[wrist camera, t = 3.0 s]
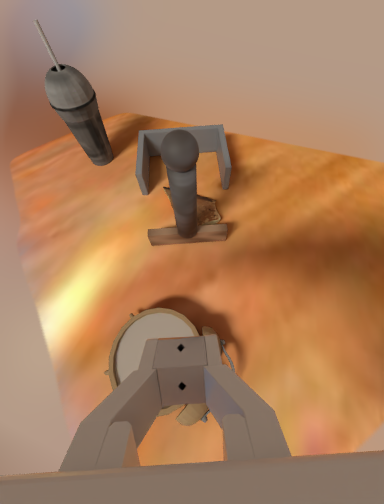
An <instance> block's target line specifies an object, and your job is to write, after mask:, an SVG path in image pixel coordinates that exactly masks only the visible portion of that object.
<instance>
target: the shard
mask: <svg viewBox="0 0 384 504" xmlns="http://www.w3.org/2000/svg"><path fill="white" fill-rule="evenodd" d="M163 188H164V191H165V193H166V194H167V196H168V198H169V200H170V202H171V206H172V208H173V202H172V197H171V191H170V188H167V187H163ZM215 201H216V200H213V199H209V198H207V197H201V196H199V195H197V226H203V225H215V224H216V223H218V222H219V221H220V219H221V218H220V215H219V214H218V212H217V210H216V207H215ZM173 210H174V208H173Z"/></svg>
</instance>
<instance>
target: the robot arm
mask: <svg viewBox="0 0 384 504" xmlns="http://www.w3.org/2000/svg"><path fill="white" fill-rule="evenodd" d="M200 403H206V405H207V407H208V408H209V410H210V411H211V413H212V414H213V416H214V417H215V419H216V421H217V422H218V424H219V425H220V427H221V428H222V430H223V455H224V461H215V462H200V463H185V464H170V465H155V466H140V462H139V458H138V453H137V448H138V446H139V445H140V443H141V441H142V440H143V438H144V437H145V435H146V433H147V432H148V430H149V428H150V427H151V425H152V424H153V422H154V420H155V419H156V417H157V415H158V414H159V412H160V411H161V409H162V406H170V405H180V404H200ZM0 504H384V450H382V451H368V452H352V453H337V454H322V455H306V456H291V454H290V451H289V448H288V446H287V443H286V440H285V438H284V435H283V433H282V430H281V427H280V425H279V422H278V419H277V417H276V414H275V411H274V410H273V409H272V408H271V407H270V406H269V405H268V404H267V403H266V402H265V401H264V400H263V399H262V398H261V397H260V396H259V395H258V394H256V393H255V392H254V391H253V390H252V389H251V388H250V387H249V386H248V385H247V384H246V383H245V382H244V381H243V380H242V379H241V378H240V377H239V376H238V375H237V374H236V373H235V372H234V371H232V370H231V369H230V368H229V367H228V366H227V365H226V364H223V365H222V360H221V355H220V350H219V344H218V339H217V335H216V334H211V335H205V336H190V337H173V338H155V339H147V340H146V342H145V345H144V349H143V353H142V356H141V360H140V364H139V367H138V370H135V371H133V372H132V373H131V374H130V375H129V376H128V377H127V378H126V379H125V380H124V381H123V382H122V383H121V384H120V385H119V386H118V387H117V388H116V389H115V390H114V391H113V392H112V393H111V394H110V395H109V396H107V397H106V398H105V399H104V400H103V401H102V402H101V403H100V404H99V405H98V406H97V407H96V408H95V409H94V410H93V411H92V412H91V413H90V414H89V415H88V416H87V417H86V418H85V419H84V420H83V421H82V422H81V423H80V425H79V427H78V430H77V432H76V434H75V436H74V438H73V441H72V443H71V445H70V447H69V449H68V451H67V454H66V456H65V458H64V460H63V462H62V465H61V467H60V469H59V471H58V472H46V473H31V474H16V475H1V476H0Z"/></svg>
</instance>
